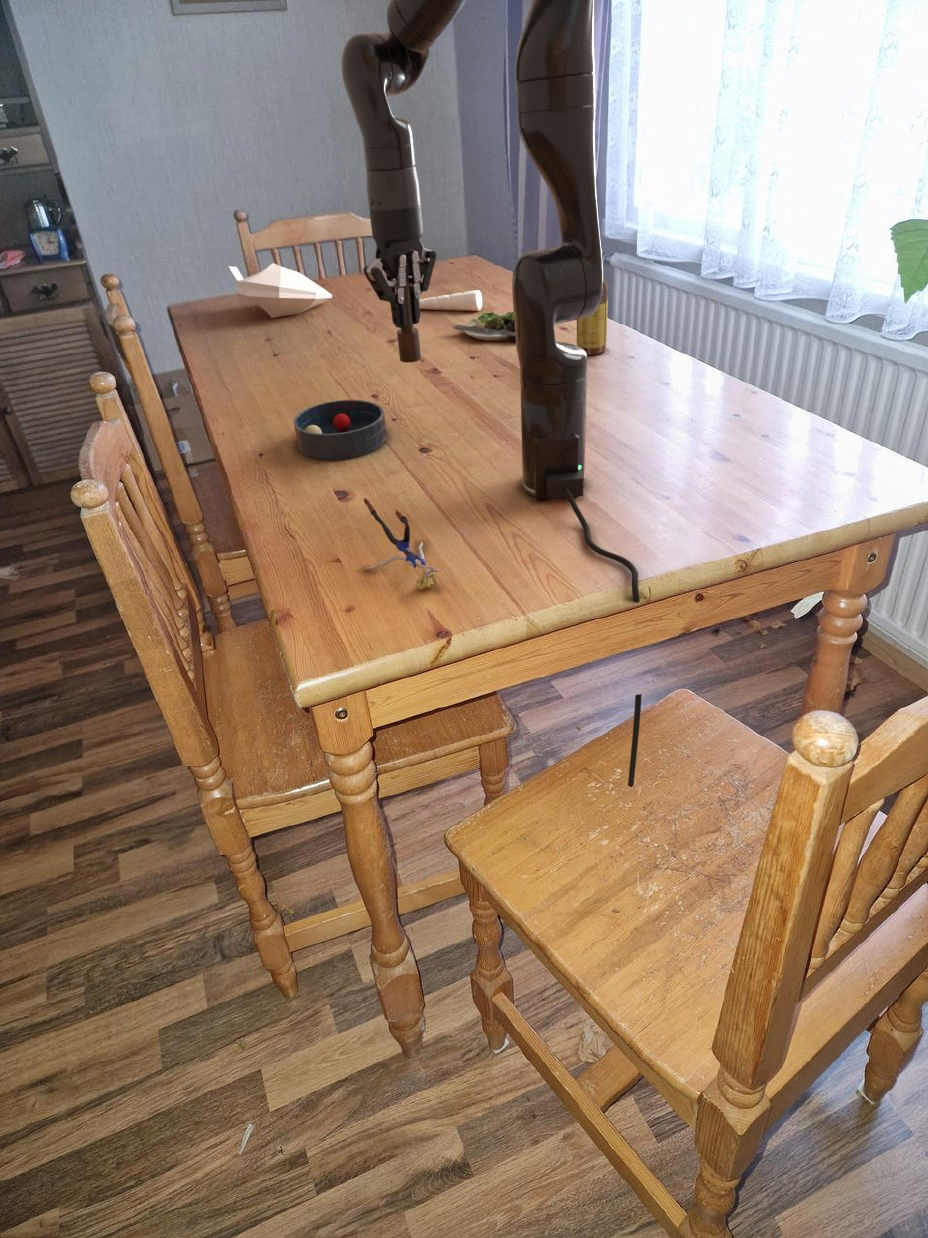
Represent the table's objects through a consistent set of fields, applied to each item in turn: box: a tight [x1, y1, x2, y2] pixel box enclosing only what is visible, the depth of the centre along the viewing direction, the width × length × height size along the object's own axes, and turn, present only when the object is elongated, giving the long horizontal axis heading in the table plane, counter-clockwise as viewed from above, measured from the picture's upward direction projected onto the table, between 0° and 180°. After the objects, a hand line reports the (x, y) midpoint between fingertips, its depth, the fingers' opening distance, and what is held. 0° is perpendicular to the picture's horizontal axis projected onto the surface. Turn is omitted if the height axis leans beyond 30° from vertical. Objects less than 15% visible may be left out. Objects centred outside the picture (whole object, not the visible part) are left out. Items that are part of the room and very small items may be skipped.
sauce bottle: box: [576, 249, 609, 356], centre depth 164 cm, size 7×6×20 cm
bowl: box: [292, 399, 388, 461], centre depth 139 cm, size 15×15×4 cm
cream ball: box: [305, 425, 322, 434], centre depth 139 cm, size 3×3×3 cm
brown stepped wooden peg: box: [395, 276, 422, 364], centre depth 126 cm, size 3×3×14 cm
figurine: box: [363, 497, 439, 603], centre depth 104 cm, size 10×9×20 cm
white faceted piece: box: [228, 262, 333, 319], centre depth 207 cm, size 25×24×12 cm
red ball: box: [333, 414, 350, 431], centre depth 142 cm, size 3×3×3 cm
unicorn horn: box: [419, 289, 483, 312], centre depth 203 cm, size 5×24×5 cm, turn 68°
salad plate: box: [452, 310, 516, 342], centre depth 184 cm, size 19×18×5 cm
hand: (407, 324), depth 127 cm, fingers closed on brown stepped wooden peg, 2 cm apart
